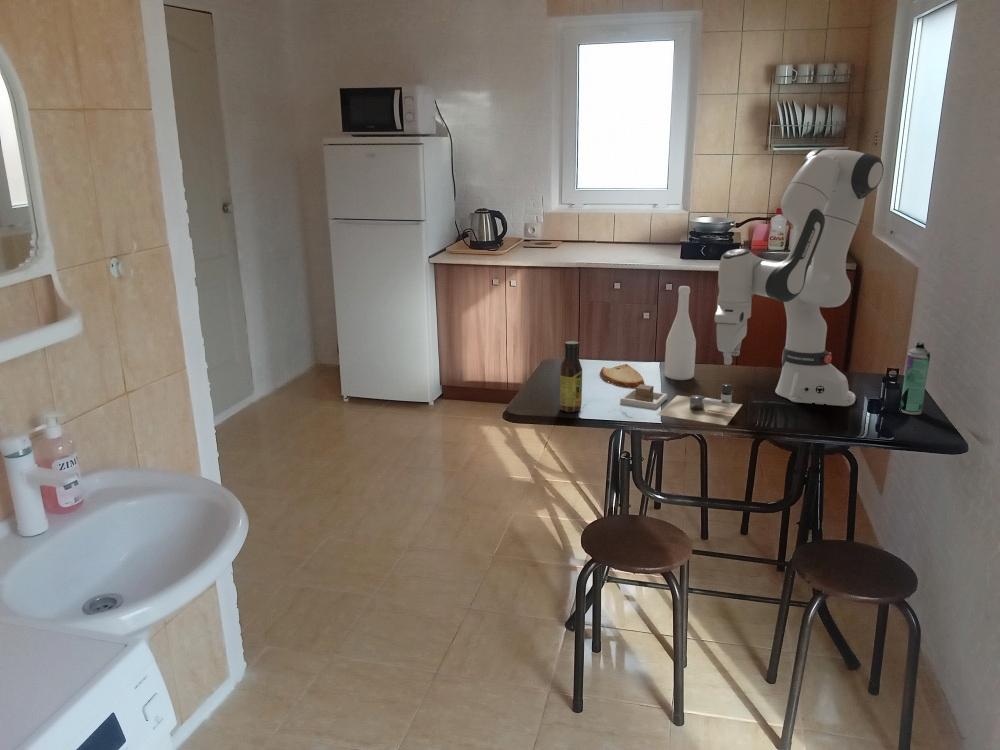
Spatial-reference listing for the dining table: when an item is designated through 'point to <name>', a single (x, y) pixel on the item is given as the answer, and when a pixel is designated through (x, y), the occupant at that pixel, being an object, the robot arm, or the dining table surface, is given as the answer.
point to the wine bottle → (681, 342)
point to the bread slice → (622, 376)
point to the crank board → (699, 411)
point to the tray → (630, 400)
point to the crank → (726, 396)
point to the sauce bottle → (571, 379)
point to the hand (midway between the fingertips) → (731, 359)
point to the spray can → (915, 380)
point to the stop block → (644, 393)
